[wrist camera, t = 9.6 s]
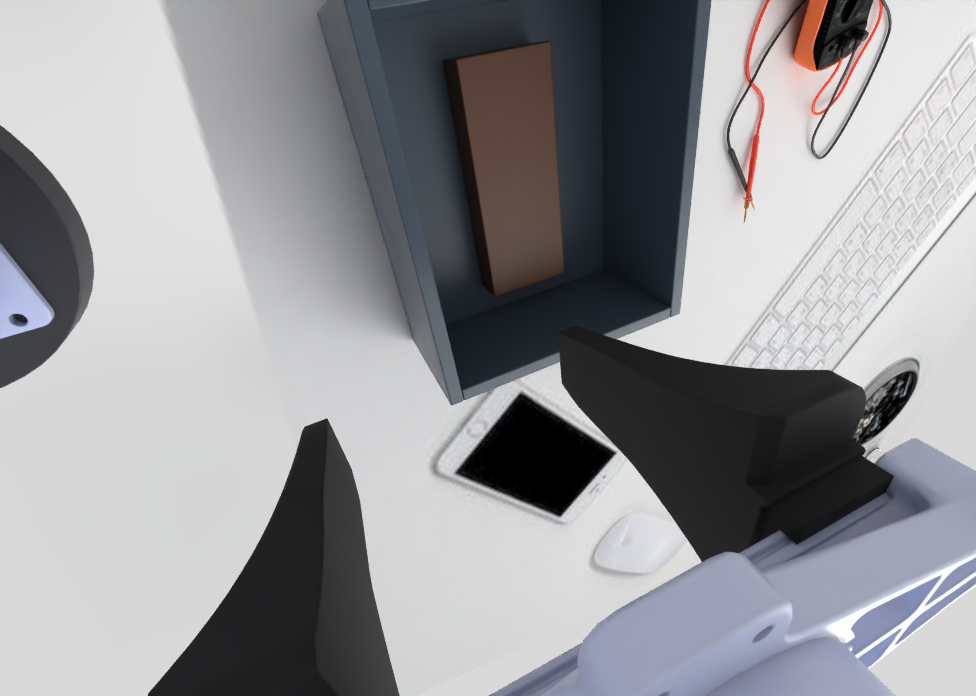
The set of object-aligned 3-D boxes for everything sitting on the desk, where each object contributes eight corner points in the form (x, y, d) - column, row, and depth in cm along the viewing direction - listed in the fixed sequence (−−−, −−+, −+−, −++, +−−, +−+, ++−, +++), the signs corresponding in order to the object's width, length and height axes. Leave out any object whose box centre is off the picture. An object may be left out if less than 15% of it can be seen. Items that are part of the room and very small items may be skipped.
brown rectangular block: (482, 285, 23) (494, 297, 22) (442, 60, 18) (455, 58, 17) (549, 263, 24) (565, 273, 23) (531, 42, 19) (550, 40, 18)
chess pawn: (872, 461, 62) (914, 487, 58) (859, 466, 61) (901, 493, 57) (882, 445, 60) (926, 471, 56) (869, 450, 59) (913, 477, 55)
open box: (413, 341, 24) (451, 406, 19) (316, 12, 16) (339, -15, 11) (606, 272, 27) (680, 313, 22) (605, -33, 19) (719, -69, 14)
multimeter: (831, 198, 32) (883, 209, 29) (700, 228, 28) (746, 243, 26) (956, -171, 23) (1051, -205, 20) (784, -199, 19) (871, -246, 16)
